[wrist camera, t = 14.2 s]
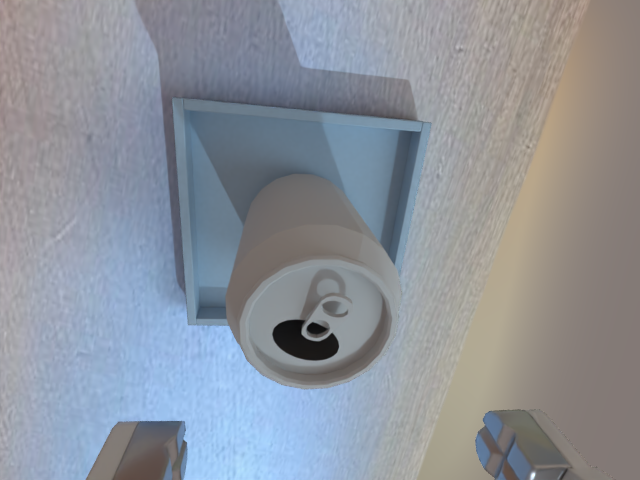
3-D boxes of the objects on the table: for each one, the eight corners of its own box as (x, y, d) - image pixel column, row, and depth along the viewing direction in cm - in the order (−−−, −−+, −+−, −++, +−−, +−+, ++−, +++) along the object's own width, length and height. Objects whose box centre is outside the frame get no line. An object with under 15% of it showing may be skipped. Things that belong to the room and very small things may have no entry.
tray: (419, 120, 22) (432, 122, 20) (382, 311, 28) (389, 326, 26) (180, 97, 20) (171, 97, 18) (194, 309, 26) (187, 325, 24)
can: (228, 244, 23) (184, 372, 12) (277, 149, 21) (278, 202, 10) (319, 285, 25) (351, 424, 15) (372, 202, 23) (456, 293, 12)
